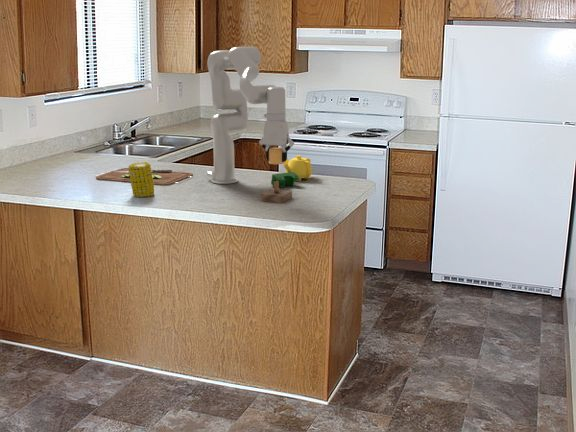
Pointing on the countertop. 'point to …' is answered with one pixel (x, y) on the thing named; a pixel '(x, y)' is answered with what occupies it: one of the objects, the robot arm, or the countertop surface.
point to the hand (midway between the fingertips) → (276, 160)
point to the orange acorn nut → (275, 156)
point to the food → (141, 179)
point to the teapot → (299, 167)
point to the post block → (276, 194)
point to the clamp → (285, 179)
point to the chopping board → (158, 176)
